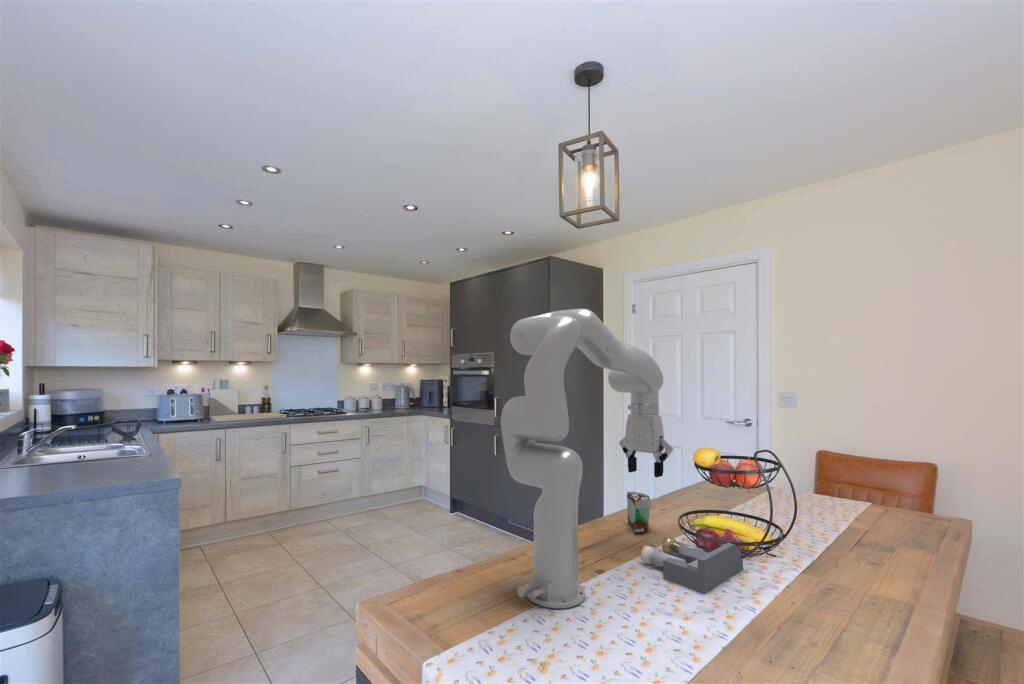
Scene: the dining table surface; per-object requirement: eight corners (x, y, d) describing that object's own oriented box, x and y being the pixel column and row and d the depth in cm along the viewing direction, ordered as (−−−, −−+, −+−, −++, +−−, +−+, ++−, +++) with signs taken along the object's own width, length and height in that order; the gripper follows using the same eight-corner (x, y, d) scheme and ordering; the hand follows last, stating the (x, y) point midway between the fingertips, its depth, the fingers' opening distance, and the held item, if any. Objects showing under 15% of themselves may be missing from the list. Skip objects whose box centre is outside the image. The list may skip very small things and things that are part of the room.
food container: (657, 536, 140) (656, 501, 141) (635, 536, 140) (635, 501, 141) (646, 523, 153) (645, 491, 153) (626, 523, 153) (626, 491, 153)
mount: (704, 593, 104) (704, 560, 104) (663, 578, 111) (662, 548, 112) (742, 568, 117) (742, 539, 118) (703, 557, 125) (703, 529, 125)
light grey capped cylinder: (679, 577, 112) (679, 559, 112) (641, 564, 119) (640, 547, 119) (687, 572, 114) (687, 555, 115) (649, 559, 122) (649, 543, 122)
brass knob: (699, 565, 118) (699, 549, 119) (662, 554, 126) (662, 538, 126) (707, 561, 121) (706, 545, 121) (670, 550, 129) (669, 535, 129)
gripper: (611, 408, 138) (611, 470, 137) (666, 413, 125) (666, 481, 124) (626, 407, 143) (626, 467, 142) (680, 411, 130) (681, 477, 129)
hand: (645, 473), depth 133 cm, fingers open, 7 cm apart
